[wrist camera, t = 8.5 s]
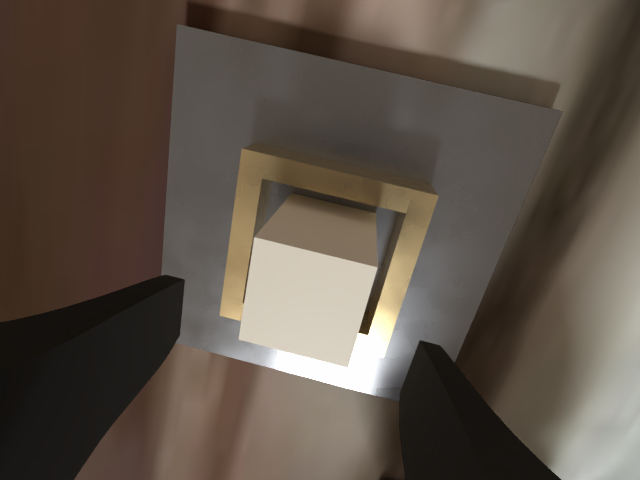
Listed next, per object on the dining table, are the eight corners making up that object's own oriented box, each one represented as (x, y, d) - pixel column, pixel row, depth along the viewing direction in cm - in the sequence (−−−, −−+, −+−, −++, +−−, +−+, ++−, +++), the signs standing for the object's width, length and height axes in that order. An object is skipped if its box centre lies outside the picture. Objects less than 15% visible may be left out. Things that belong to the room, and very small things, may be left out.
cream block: (375, 213, 17) (377, 267, 12) (355, 288, 19) (347, 367, 13) (291, 193, 18) (254, 237, 12) (277, 269, 19) (238, 339, 13)
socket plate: (551, 110, 16) (589, 113, 13) (431, 397, 22) (440, 441, 19) (187, 28, 17) (150, 14, 14) (166, 327, 22) (137, 360, 20)
